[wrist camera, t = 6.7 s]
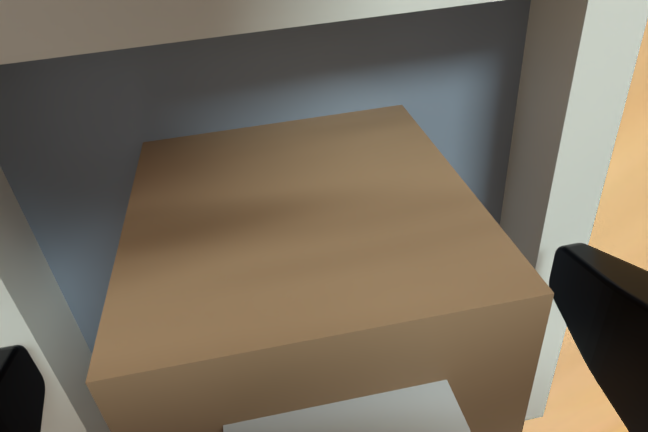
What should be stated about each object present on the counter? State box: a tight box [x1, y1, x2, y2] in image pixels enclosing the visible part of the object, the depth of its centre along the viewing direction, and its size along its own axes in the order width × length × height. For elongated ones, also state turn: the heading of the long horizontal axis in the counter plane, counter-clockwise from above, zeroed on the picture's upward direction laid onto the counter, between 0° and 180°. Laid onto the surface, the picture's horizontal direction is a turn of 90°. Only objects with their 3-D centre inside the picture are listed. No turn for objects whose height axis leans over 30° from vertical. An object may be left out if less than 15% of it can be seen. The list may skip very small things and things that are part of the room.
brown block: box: [85, 105, 554, 432], centre depth 8 cm, size 5×4×6 cm
